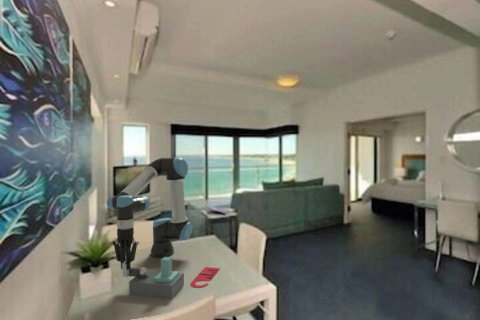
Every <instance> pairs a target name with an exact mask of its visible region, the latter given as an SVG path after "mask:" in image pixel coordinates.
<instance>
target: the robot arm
mask: <svg viewBox="0 0 480 320" xmlns="http://www.w3.org/2000/svg"><path fill="white" fill-rule="evenodd" d="M188 172H189V165H188V163H187V161H186V159H184V158H183V157H160V158H158V159H155V160H154V161H151V162H150V163H149V164H148V165H147V166H145V167H144V169H143V171H142V172H141V173H140V174H139V175H138V176H137V177H135V179H133V180H132V181H131V182H130V183H129V184H128V185H127V186H126V187H124V189H123V190H121V191H120V192H119V193H118V194H117V195H111V196H109V197H108V198H107V200H106V206H107V208H108V209H109V210H112V211H116V228H117V229H116V235H117V236H116V237H117V238H116V240H114V241H112V245H113V247H114V252H115V256H116V261H117V262H119V263H120V269H121V271H122V275H121V276H122V277H123V278H126V277H129V276H128V275H129V269H130V268H132V267H131V265H132V264H131V263H132V262H133V261H135V258H136V252H137V246H138V245H139V241H136V240H135V238H134V233H135V229H134V228H135V227H134V226H135V225H134V224H135V223H134V216H135V215H134V214H136V213H140V212H144V211H146V210H148V209H149V208H150V206H151V202H150V198H148V196H146V195H143V196H142V195H141V196H138V195H139V194H140V193H141V192H142V191H144V189H145V188H146V187H147V186H148V185H149V184H150V183H151V182H152V181H153V180H157V178H159V177H166V181H167V182H169V194H170V205H171V207H170V208H171V218H170V217H163V218H159V219H156V220H154V221H153V223H152V239H153V240H152V241H153V243H152V246H151V249H150V256H151V257H153V258H164V257H169V256H171V255H173V254H174V253H175V248H174V245H173V243H172V242H173V241H172V240H176V241H187V240H188V239H189V238H190V237H191V236H192V232H193V224H192V222H191V221H189V217H187V216H186V205H185V204H186V203H185V192H184V180H185V179H186V176H187V175H188Z"/></svg>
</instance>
